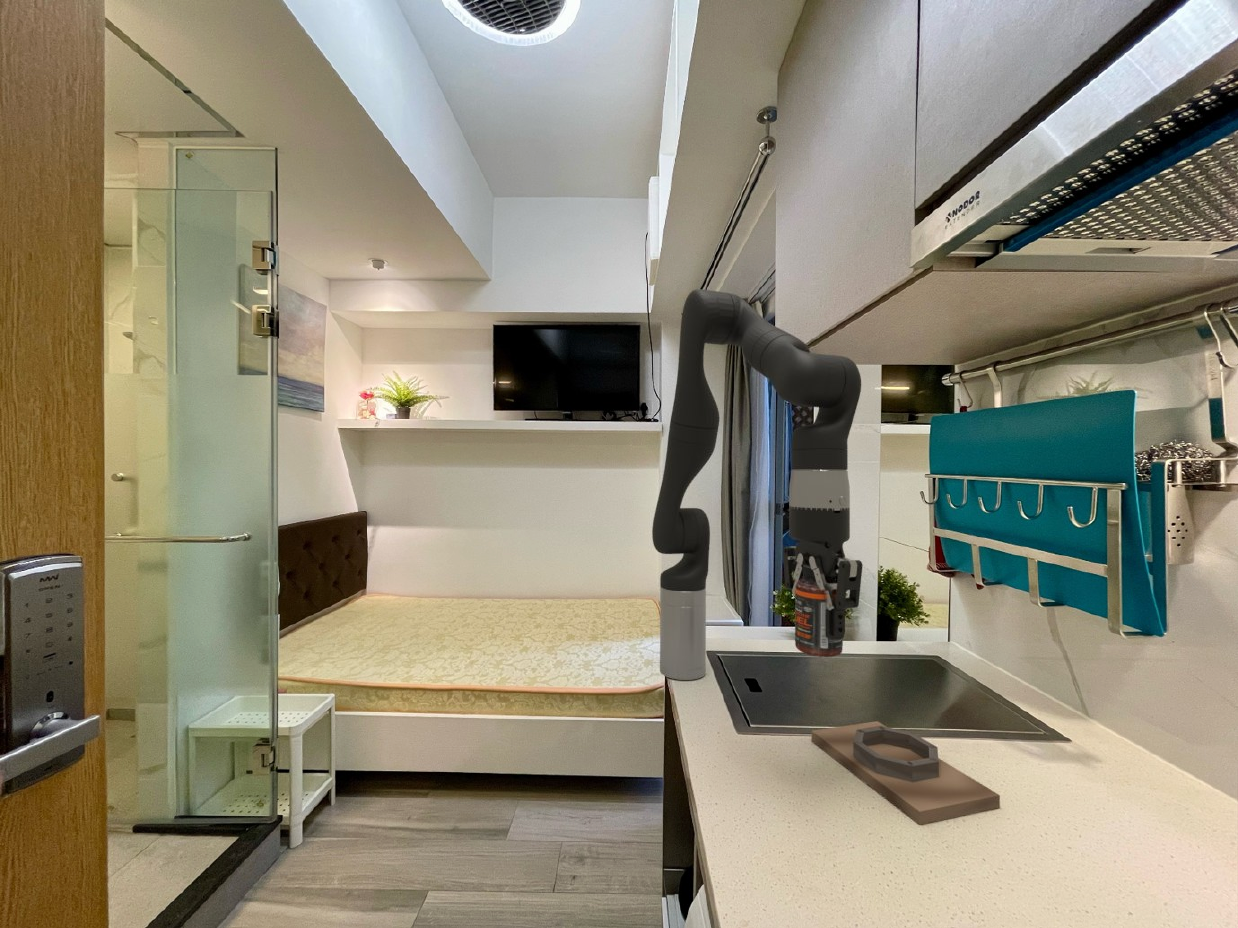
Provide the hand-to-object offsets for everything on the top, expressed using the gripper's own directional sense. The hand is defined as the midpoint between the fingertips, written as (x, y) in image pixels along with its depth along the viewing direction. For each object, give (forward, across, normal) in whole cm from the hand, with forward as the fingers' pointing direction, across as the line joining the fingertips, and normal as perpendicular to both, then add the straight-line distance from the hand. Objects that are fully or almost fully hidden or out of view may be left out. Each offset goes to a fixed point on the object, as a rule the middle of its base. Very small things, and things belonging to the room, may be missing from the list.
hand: (818, 630), depth 70 cm
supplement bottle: (+3, 0, 0) cm, 3 cm away
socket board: (+19, +1, +12) cm, 23 cm away
